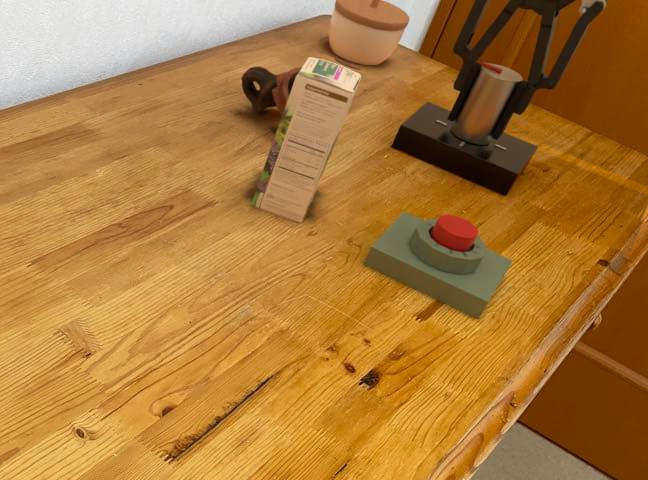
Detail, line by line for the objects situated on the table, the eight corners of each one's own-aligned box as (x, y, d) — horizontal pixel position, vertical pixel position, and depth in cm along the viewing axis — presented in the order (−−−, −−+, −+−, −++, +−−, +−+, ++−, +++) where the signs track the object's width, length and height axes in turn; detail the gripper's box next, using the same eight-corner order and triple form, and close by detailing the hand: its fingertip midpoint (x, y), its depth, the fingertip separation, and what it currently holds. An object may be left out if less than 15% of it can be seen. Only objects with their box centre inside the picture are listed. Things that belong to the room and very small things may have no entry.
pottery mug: (318, 120, 110) (353, 81, 102) (297, 176, 106) (331, 140, 99) (237, 74, 108) (267, 31, 100) (213, 130, 104) (242, 90, 97)
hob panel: (526, 167, 109) (538, 145, 107) (505, 196, 102) (518, 172, 100) (417, 122, 114) (427, 100, 112) (390, 147, 106) (401, 123, 104)
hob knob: (494, 137, 107) (528, 72, 101) (484, 149, 103) (518, 82, 98) (457, 121, 108) (488, 57, 102) (445, 133, 105) (477, 66, 99)
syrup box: (261, 185, 93) (305, 53, 83) (313, 202, 92) (363, 71, 82) (249, 207, 89) (294, 71, 79) (303, 226, 88) (355, 90, 78)
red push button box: (502, 278, 87) (522, 245, 85) (477, 320, 81) (497, 286, 78) (395, 228, 91) (410, 195, 88) (362, 265, 84) (378, 230, 82)
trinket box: (387, 58, 130) (413, -5, 124) (389, 84, 122) (416, 17, 116) (319, 40, 131) (341, -24, 124) (316, 64, 123) (340, -3, 116)
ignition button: (474, 242, 84) (483, 227, 83) (463, 257, 81) (472, 242, 80) (436, 225, 85) (444, 210, 84) (425, 240, 83) (432, 224, 81)
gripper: (487, -104, 89) (397, 106, 105) (661, -48, 84) (539, 165, 100) (504, -111, 94) (416, 91, 110) (669, -59, 89) (552, 146, 105)
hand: (474, 126), depth 105 cm, fingers closed on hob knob, 5 cm apart
